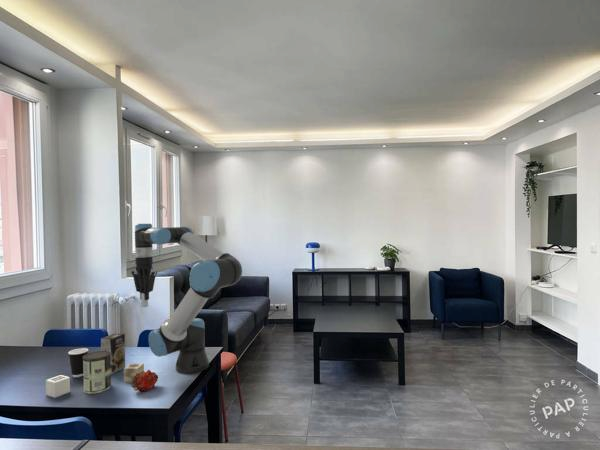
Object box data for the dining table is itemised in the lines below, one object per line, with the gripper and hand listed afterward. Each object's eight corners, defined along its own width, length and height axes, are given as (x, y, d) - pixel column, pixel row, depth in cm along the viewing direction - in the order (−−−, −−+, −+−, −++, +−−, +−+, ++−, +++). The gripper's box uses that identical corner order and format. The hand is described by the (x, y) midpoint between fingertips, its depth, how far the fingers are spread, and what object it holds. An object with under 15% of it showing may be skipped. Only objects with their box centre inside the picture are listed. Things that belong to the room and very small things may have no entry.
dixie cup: (65, 375, 172) (65, 351, 172) (84, 370, 178) (84, 346, 178) (72, 380, 167) (72, 355, 167) (91, 374, 173) (91, 350, 173)
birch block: (143, 376, 170) (143, 363, 170) (137, 382, 164) (137, 368, 164) (130, 376, 170) (130, 363, 170) (123, 382, 164) (123, 368, 164)
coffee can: (102, 381, 165) (102, 349, 165) (116, 386, 160) (115, 353, 160) (78, 390, 157) (77, 356, 157) (91, 396, 151) (91, 360, 151)
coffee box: (113, 374, 173) (112, 339, 173) (100, 373, 174) (100, 338, 174) (126, 367, 182) (125, 333, 182) (114, 366, 183) (113, 332, 183)
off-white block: (69, 391, 155) (69, 376, 155) (54, 398, 150) (54, 382, 150) (61, 389, 158) (60, 374, 158) (45, 395, 153) (45, 379, 153)
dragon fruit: (129, 399, 151) (155, 392, 161) (141, 390, 148) (167, 383, 158) (124, 378, 155) (149, 373, 165) (135, 369, 152) (161, 364, 162)
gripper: (126, 256, 177) (127, 307, 177) (150, 257, 173) (150, 309, 173) (138, 255, 184) (139, 304, 184) (160, 255, 180) (161, 305, 180)
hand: (144, 306), depth 178 cm, fingers closed
